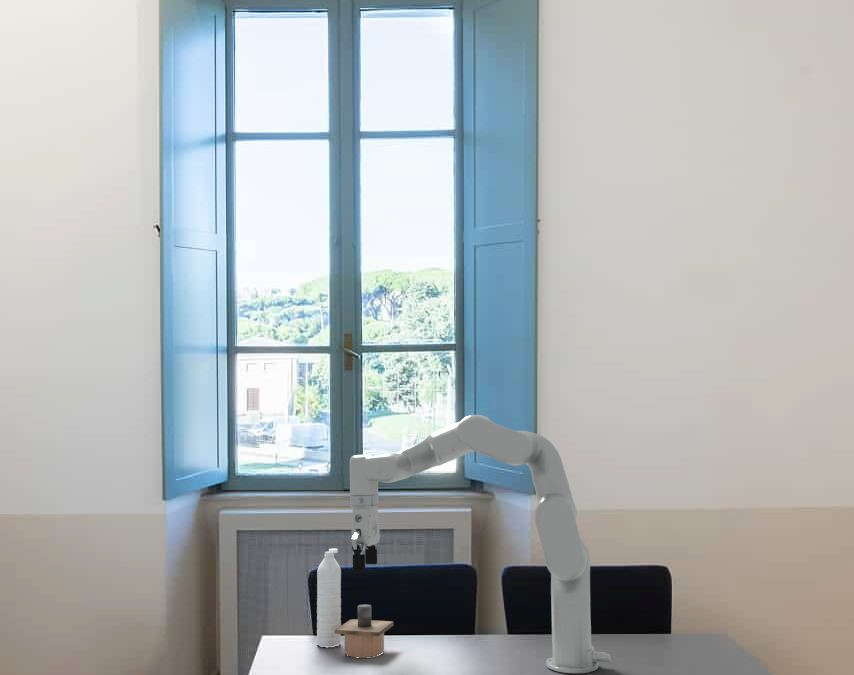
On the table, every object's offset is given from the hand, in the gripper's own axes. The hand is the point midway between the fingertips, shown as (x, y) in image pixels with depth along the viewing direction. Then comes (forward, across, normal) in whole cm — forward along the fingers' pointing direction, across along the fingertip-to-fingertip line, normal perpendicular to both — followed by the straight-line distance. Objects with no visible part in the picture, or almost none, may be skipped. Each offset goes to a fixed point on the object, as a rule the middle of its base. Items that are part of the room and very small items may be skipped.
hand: (365, 567), depth 222 cm
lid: (+16, 0, 0) cm, 16 cm away
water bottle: (+22, +6, +13) cm, 26 cm away
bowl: (+22, 0, +1) cm, 22 cm away
